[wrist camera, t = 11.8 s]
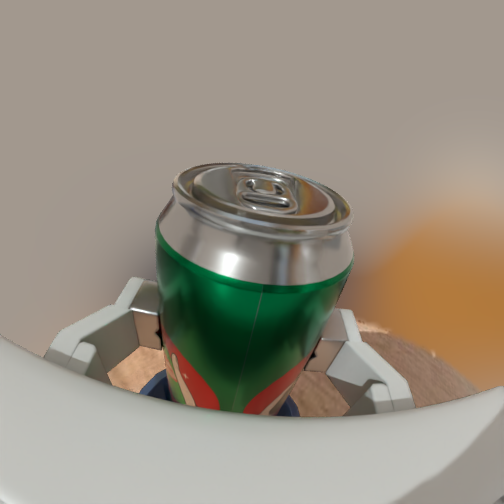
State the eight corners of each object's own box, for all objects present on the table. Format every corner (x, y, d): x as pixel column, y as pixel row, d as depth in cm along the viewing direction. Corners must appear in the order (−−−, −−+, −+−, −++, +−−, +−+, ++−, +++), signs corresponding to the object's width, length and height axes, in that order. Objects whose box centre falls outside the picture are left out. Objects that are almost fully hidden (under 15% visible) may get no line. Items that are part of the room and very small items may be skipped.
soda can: (266, 379, 15) (334, 176, 9) (270, 456, 11) (408, 257, 4) (180, 370, 14) (183, 152, 8) (168, 447, 10) (116, 215, 4)
